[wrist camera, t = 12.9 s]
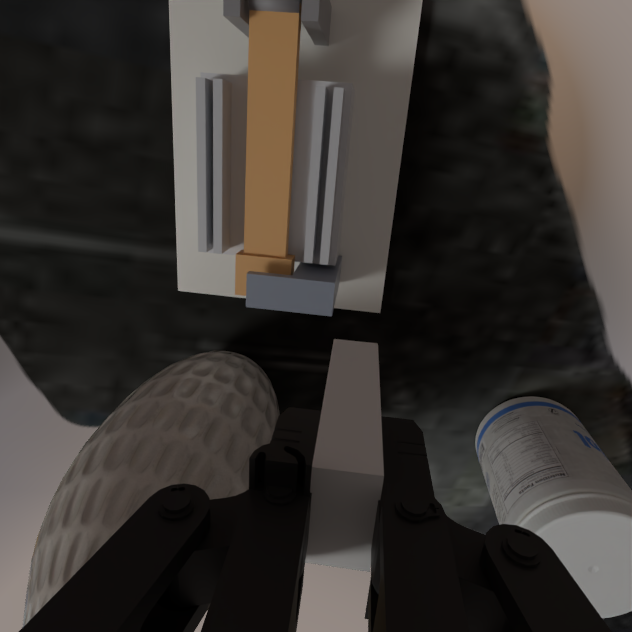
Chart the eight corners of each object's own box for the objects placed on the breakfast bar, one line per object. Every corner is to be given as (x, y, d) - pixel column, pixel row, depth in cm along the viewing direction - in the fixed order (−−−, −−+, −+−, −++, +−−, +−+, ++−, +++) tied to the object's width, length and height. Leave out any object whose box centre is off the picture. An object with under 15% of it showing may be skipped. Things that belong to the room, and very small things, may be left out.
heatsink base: (173, -28, 33) (116, -78, 26) (423, -15, 32) (439, -63, 24) (182, 287, 42) (141, 318, 34) (380, 309, 40) (382, 346, 33)
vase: (323, 364, 43) (249, 710, 17) (260, 456, 47) (123, 842, 21) (205, 294, 42) (-75, 546, 16) (151, 395, 46) (-135, 723, 20)
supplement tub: (601, 438, 42) (711, 578, 29) (518, 494, 46) (581, 644, 32) (531, 371, 41) (611, 485, 27) (450, 434, 44) (486, 564, 30)
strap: (247, -12, 28) (240, -21, 27) (311, -8, 28) (308, -17, 26) (240, 288, 35) (235, 294, 33) (292, 294, 35) (288, 300, 33)
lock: (270, 248, 38) (246, 273, 31) (342, 255, 38) (335, 283, 30) (269, 276, 39) (245, 306, 32) (339, 283, 39) (331, 316, 31)
